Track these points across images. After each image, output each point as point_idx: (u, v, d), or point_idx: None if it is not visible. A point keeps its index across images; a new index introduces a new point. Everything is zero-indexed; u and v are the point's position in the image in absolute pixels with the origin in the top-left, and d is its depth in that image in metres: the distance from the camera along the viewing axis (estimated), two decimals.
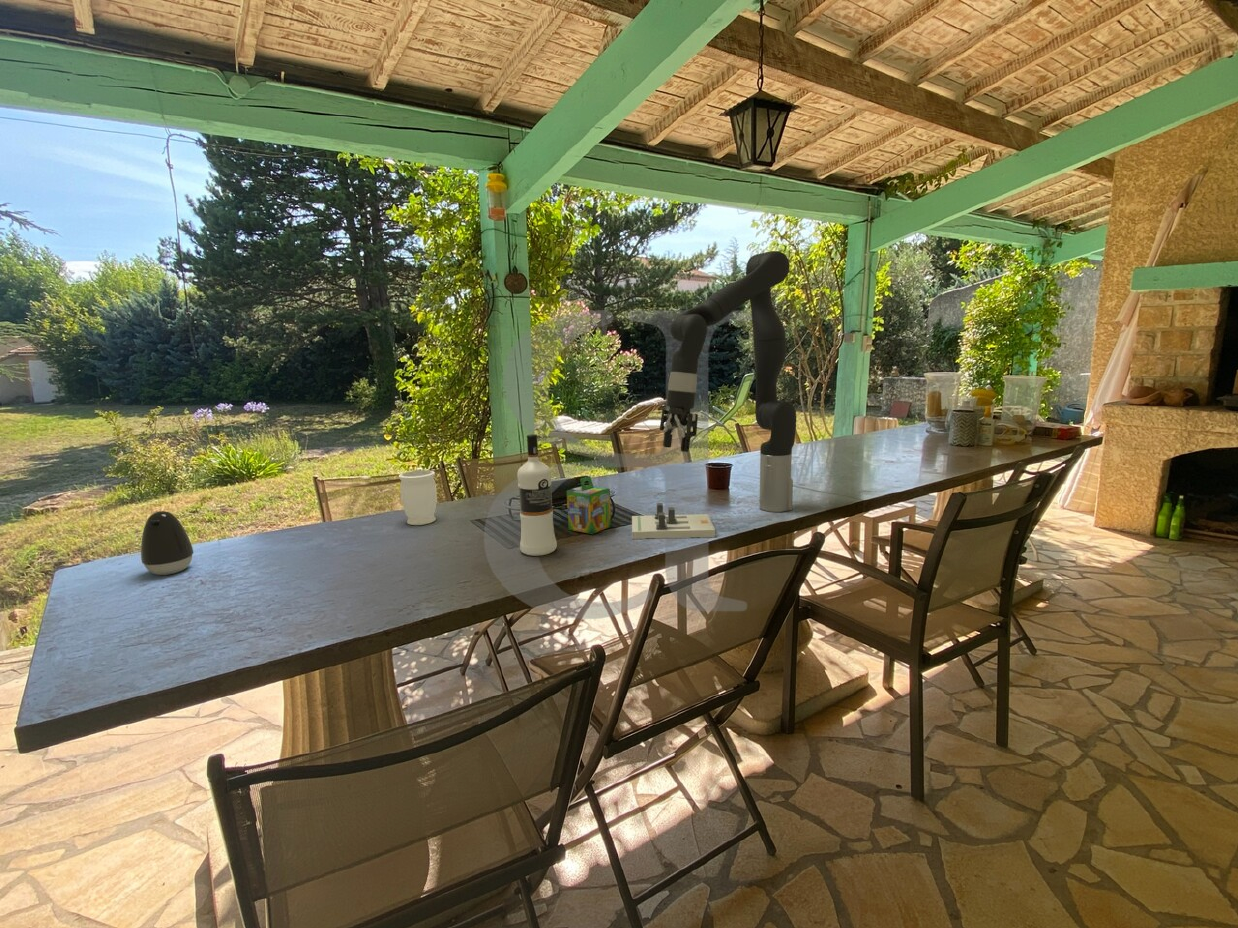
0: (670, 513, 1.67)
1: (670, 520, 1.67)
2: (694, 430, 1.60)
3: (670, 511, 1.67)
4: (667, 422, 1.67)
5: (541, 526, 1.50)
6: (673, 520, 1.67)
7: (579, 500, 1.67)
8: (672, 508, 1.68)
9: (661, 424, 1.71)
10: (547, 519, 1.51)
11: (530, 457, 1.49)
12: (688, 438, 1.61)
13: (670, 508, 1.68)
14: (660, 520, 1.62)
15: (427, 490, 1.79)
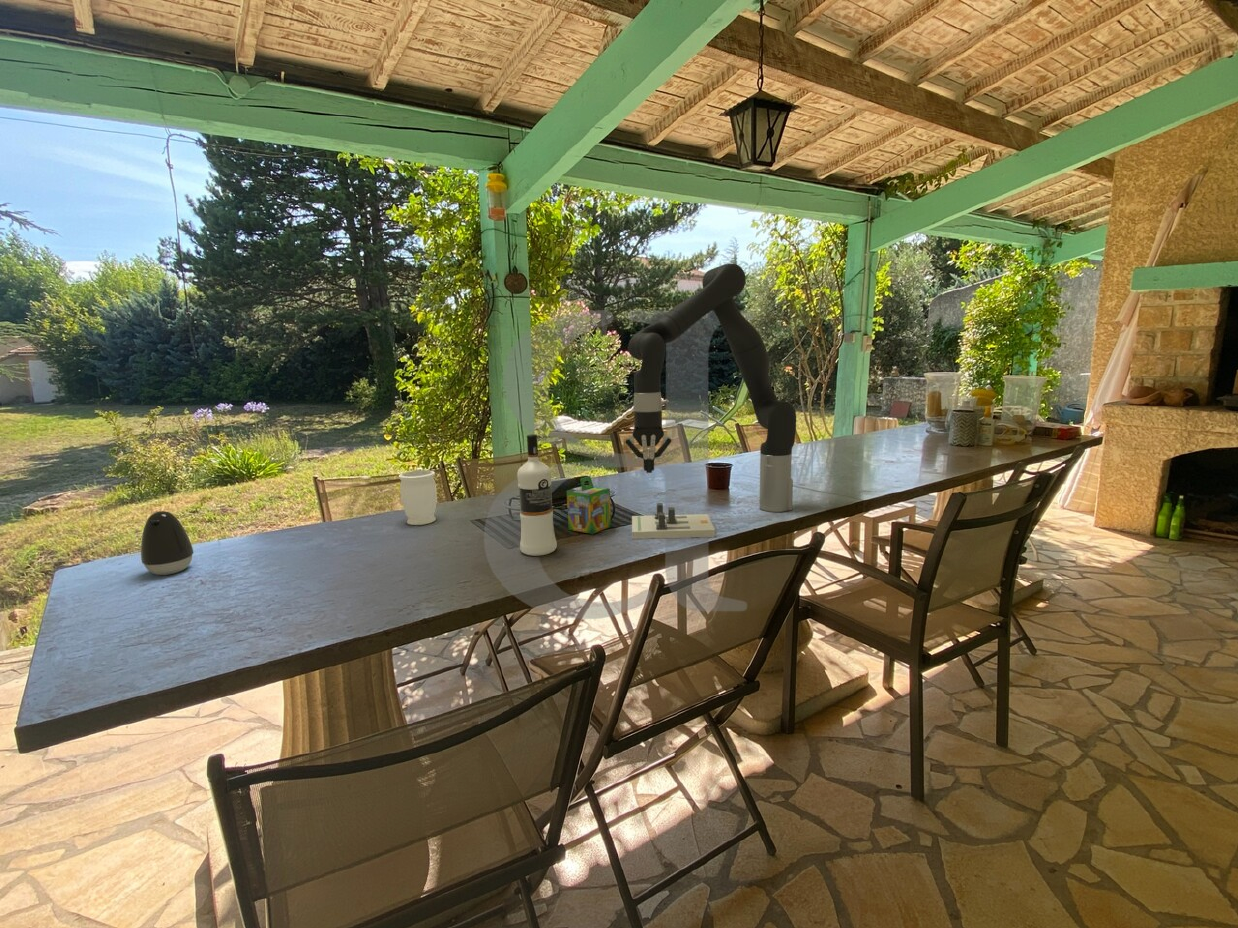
0: (670, 513, 1.67)
1: (670, 520, 1.67)
2: None
3: (670, 511, 1.67)
4: (644, 445, 1.63)
5: (541, 526, 1.50)
6: (673, 520, 1.67)
7: (579, 500, 1.67)
8: (672, 508, 1.68)
9: (636, 452, 1.64)
10: (547, 519, 1.51)
11: (530, 457, 1.49)
12: None
13: (670, 508, 1.68)
14: (660, 520, 1.62)
15: (427, 490, 1.79)
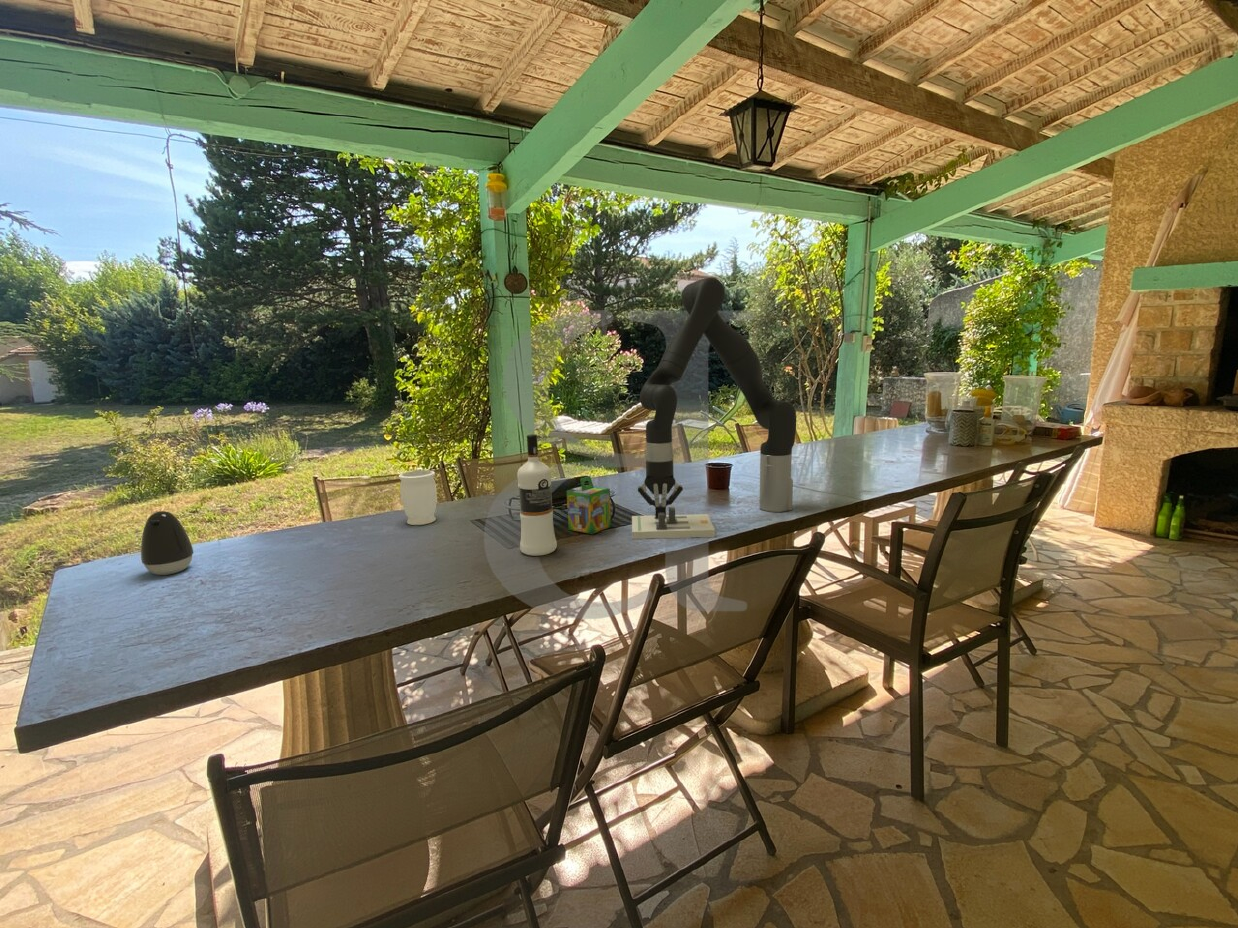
0: (670, 513, 1.67)
1: (670, 520, 1.67)
2: None
3: (670, 511, 1.67)
4: (656, 494, 1.66)
5: (541, 526, 1.50)
6: (673, 520, 1.67)
7: (579, 500, 1.67)
8: (673, 508, 1.68)
9: (648, 500, 1.67)
10: (547, 519, 1.51)
11: (530, 457, 1.49)
12: (665, 506, 1.68)
13: (670, 508, 1.68)
14: (660, 520, 1.62)
15: (427, 490, 1.79)
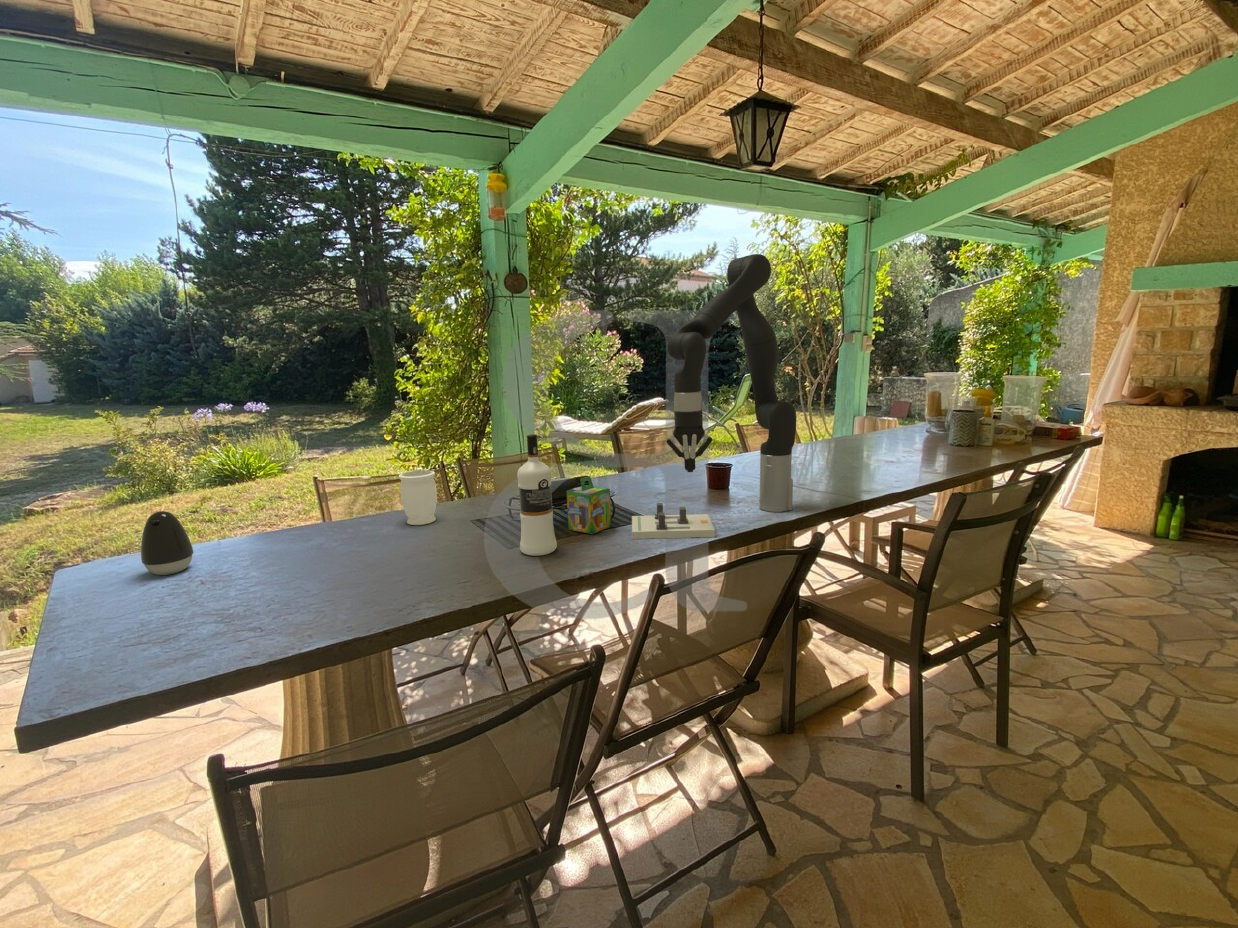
0: (681, 513, 1.67)
1: (681, 520, 1.67)
2: None
3: (681, 511, 1.67)
4: (685, 445, 1.63)
5: (541, 526, 1.50)
6: (684, 520, 1.67)
7: (579, 500, 1.67)
8: (684, 508, 1.68)
9: (677, 452, 1.64)
10: (547, 519, 1.51)
11: (530, 457, 1.49)
12: None
13: (681, 508, 1.68)
14: (660, 520, 1.62)
15: (427, 490, 1.79)
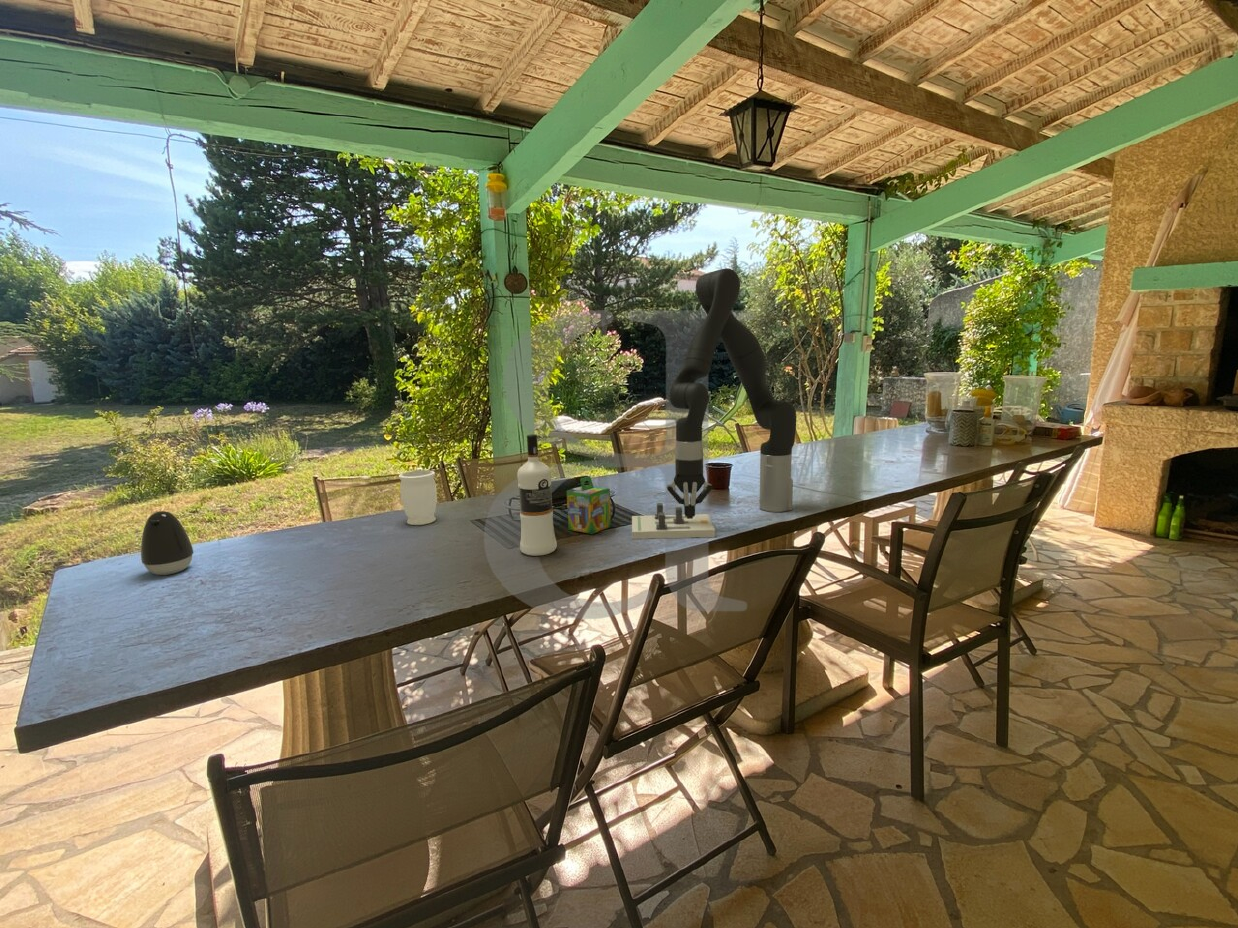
0: (677, 513, 1.67)
1: (677, 520, 1.67)
2: None
3: (677, 511, 1.67)
4: (685, 492, 1.65)
5: (541, 526, 1.50)
6: (680, 520, 1.67)
7: (579, 500, 1.67)
8: (680, 508, 1.68)
9: (677, 498, 1.66)
10: (547, 519, 1.51)
11: (530, 457, 1.49)
12: None
13: (677, 508, 1.68)
14: (660, 520, 1.62)
15: (427, 490, 1.79)
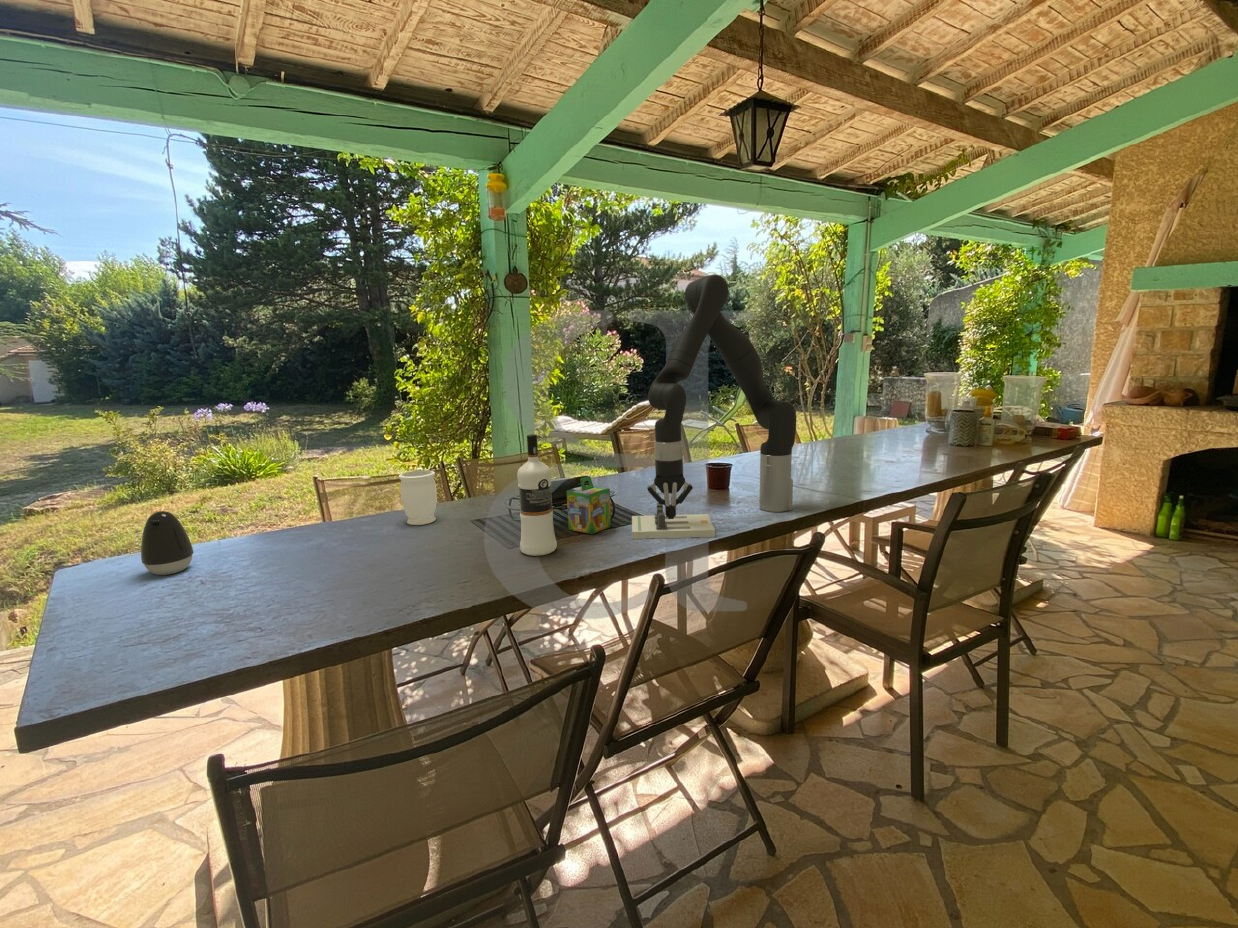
0: None
1: (658, 520, 1.67)
2: None
3: (658, 511, 1.67)
4: (666, 493, 1.65)
5: (541, 526, 1.50)
6: None
7: (579, 500, 1.67)
8: (661, 508, 1.68)
9: (658, 499, 1.66)
10: (547, 519, 1.51)
11: (530, 457, 1.49)
12: (675, 505, 1.68)
13: (658, 508, 1.68)
14: (660, 520, 1.62)
15: (427, 490, 1.79)
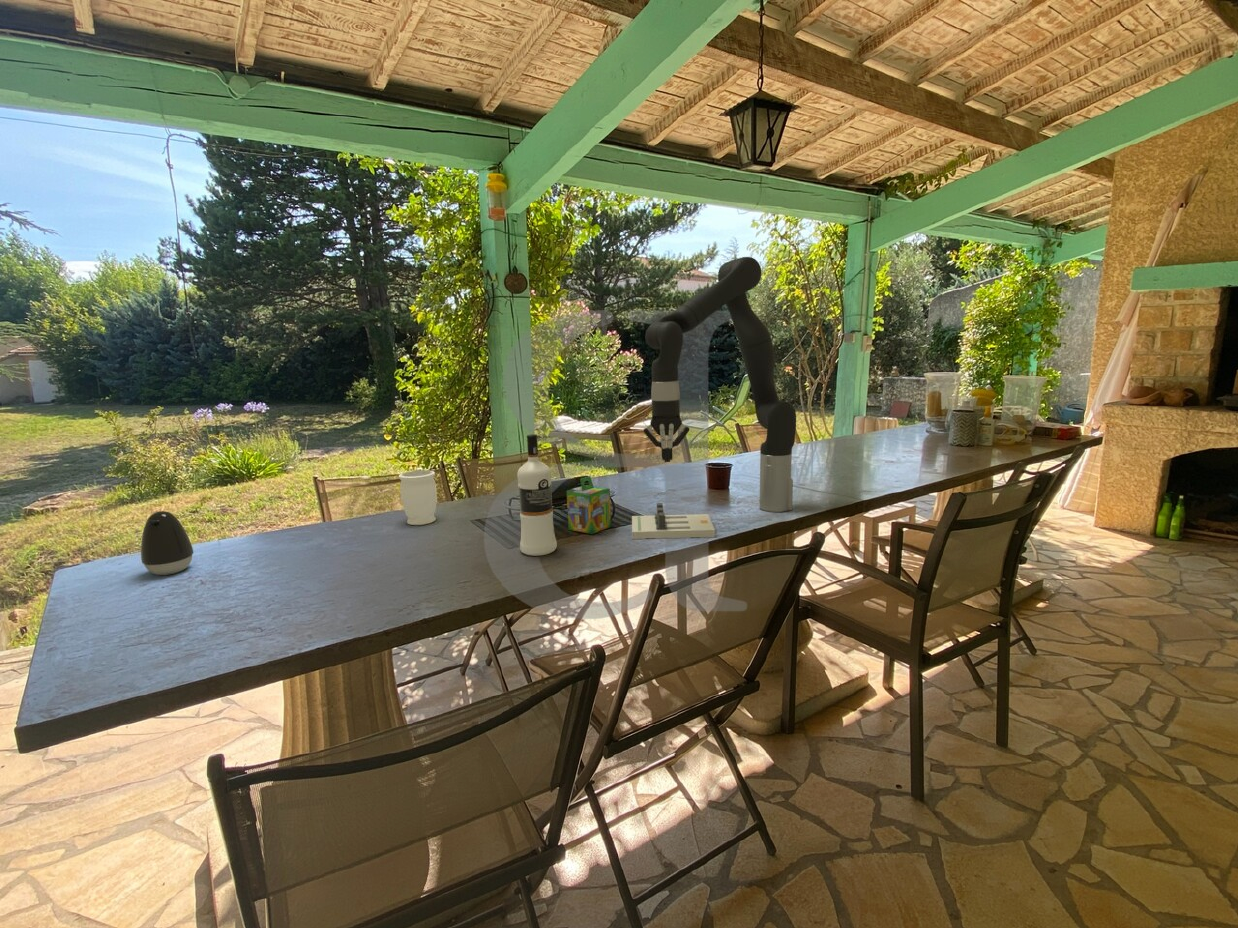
0: None
1: None
2: None
3: (659, 511, 1.67)
4: (662, 435, 1.63)
5: (541, 526, 1.50)
6: None
7: (579, 500, 1.67)
8: (661, 508, 1.68)
9: (654, 441, 1.64)
10: (547, 519, 1.51)
11: (530, 457, 1.49)
12: None
13: (659, 508, 1.68)
14: (660, 520, 1.62)
15: (427, 490, 1.79)
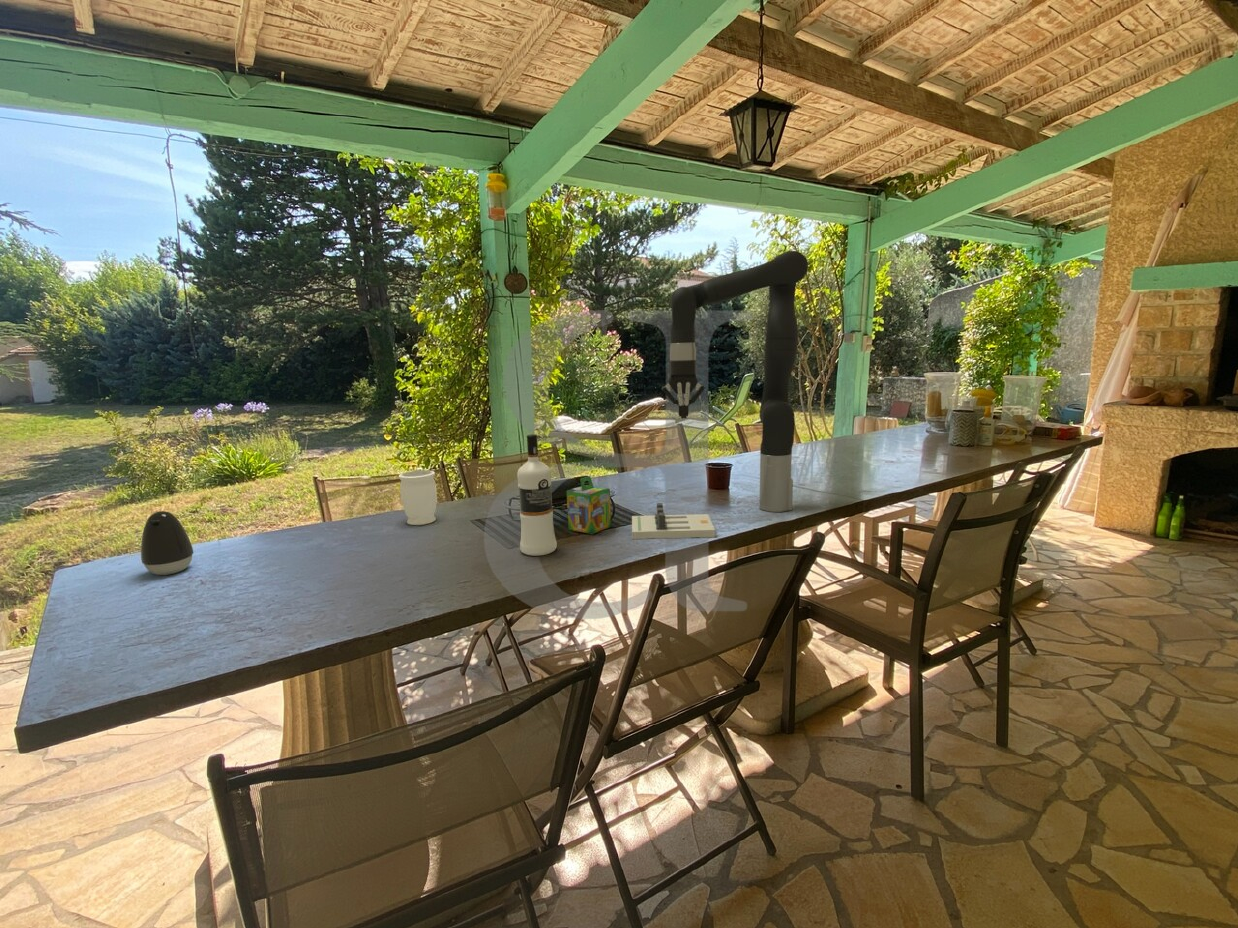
0: None
1: None
2: None
3: (659, 511, 1.67)
4: (679, 392, 1.77)
5: (541, 526, 1.50)
6: None
7: (579, 500, 1.67)
8: (661, 508, 1.68)
9: (672, 399, 1.78)
10: (547, 519, 1.51)
11: (530, 457, 1.49)
12: (688, 405, 1.79)
13: (659, 508, 1.68)
14: (660, 520, 1.62)
15: (427, 490, 1.79)
